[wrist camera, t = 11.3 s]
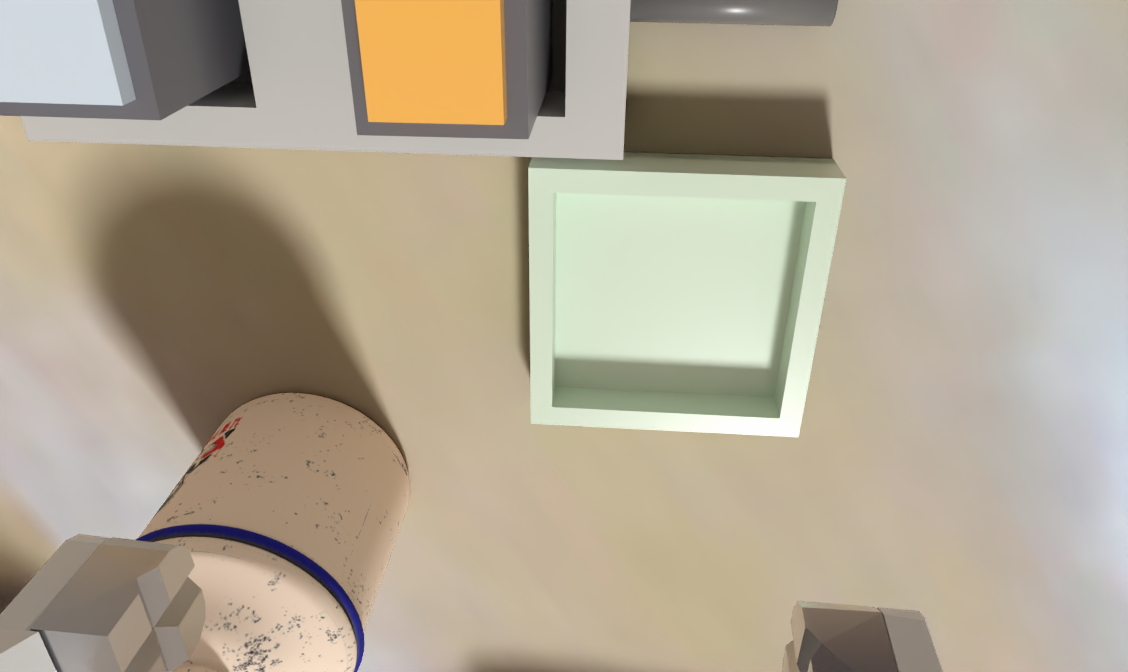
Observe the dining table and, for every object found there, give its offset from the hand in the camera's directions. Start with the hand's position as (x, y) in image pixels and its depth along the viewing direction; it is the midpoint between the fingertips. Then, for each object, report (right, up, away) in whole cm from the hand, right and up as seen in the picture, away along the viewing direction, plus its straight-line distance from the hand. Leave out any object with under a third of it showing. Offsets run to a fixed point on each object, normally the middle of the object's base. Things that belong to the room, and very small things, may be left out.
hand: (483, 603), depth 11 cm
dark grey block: (-10, +14, +15) cm, 23 cm away
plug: (-1, +14, +14) cm, 20 cm away
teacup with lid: (-10, -3, +26) cm, 28 cm away
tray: (+5, +5, +20) cm, 21 cm away
